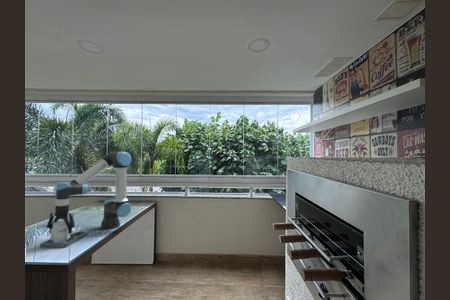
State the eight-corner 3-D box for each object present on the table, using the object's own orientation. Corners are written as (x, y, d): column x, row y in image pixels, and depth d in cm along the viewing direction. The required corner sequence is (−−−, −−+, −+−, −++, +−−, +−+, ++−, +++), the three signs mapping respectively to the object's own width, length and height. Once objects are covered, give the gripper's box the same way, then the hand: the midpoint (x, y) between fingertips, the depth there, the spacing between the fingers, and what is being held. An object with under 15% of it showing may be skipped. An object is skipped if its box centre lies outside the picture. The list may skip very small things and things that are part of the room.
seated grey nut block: (78, 237, 173) (78, 231, 174) (71, 239, 168) (72, 234, 168) (70, 236, 174) (71, 231, 175) (64, 239, 168) (64, 233, 169)
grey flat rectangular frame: (66, 234, 178) (66, 231, 178) (87, 234, 178) (87, 231, 178) (39, 247, 151) (40, 243, 151) (65, 247, 151) (65, 243, 152)
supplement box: (56, 243, 153) (57, 223, 154) (51, 241, 157) (52, 222, 158) (68, 240, 159) (69, 221, 160) (63, 238, 163) (64, 220, 164)
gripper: (82, 204, 164) (80, 236, 163) (49, 203, 163) (46, 236, 161) (76, 206, 156) (74, 240, 155) (41, 205, 155) (38, 240, 154)
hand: (60, 238), depth 158 cm, fingers closed on supplement box, 10 cm apart
